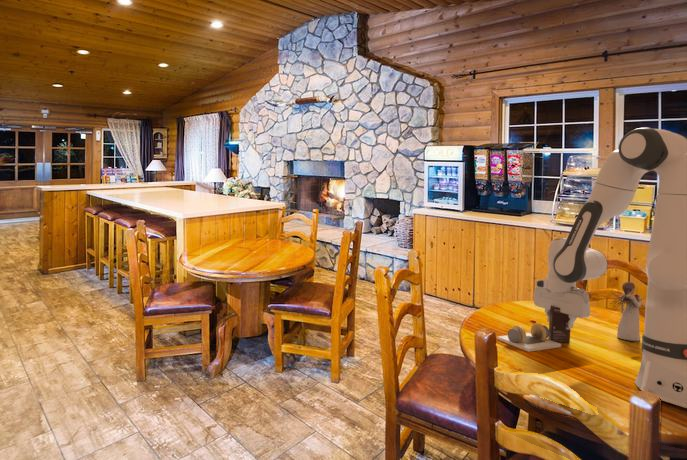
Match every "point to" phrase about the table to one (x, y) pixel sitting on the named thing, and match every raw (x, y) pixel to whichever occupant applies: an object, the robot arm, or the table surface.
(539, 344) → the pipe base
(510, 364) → the table surface
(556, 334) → the box
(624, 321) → the figurine
